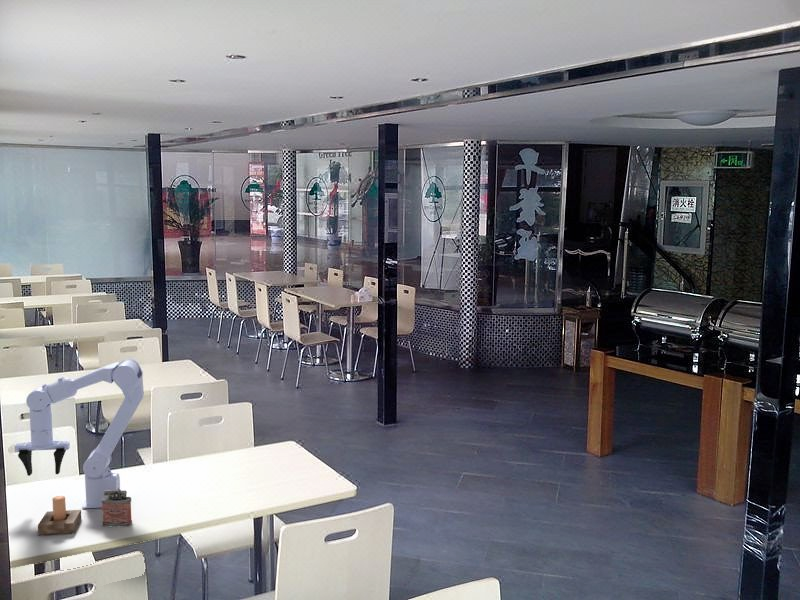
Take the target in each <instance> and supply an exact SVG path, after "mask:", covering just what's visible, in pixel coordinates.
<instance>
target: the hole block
mask: <svg viewBox="0 0 800 600" xmlns="http://www.w3.org/2000/svg"><path fill="white" fill-rule="evenodd" d="M81 522H82V509H70V510H69V509H68V510H67V509H66V520H60V521H54V519H53V510H51V511H46V512H45V514H44V515H43V517H42V518H41V520H40V522H39V523H38V524H37V536H38V537H42V536H41V535H44V536H57V535H73V534H72V533H75V532H76V530H77V529H76V528H78V527H79V525H80V523H81ZM77 526H78V527H77Z"/></svg>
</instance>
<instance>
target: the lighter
mask: <svg viewBox="0 0 800 600" xmlns="http://www.w3.org/2000/svg"><path fill="white" fill-rule="evenodd" d="M127 493H128V492H127V490H121V488H120V489H117V490H116V491H113V490H105V491H104V496H109V497H104V498H102V499H101V502H102V507H101V509H102V524H101V525H102V526H103V527H107V526H112V527H111V528H120V527H121V526H122V527H130V526H132V525H133V519H132V497H131V496H127ZM112 496H113V497H112ZM118 526H120V527H118ZM122 527H121V528H122Z"/></svg>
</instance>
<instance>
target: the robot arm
mask: <svg viewBox="0 0 800 600" xmlns="http://www.w3.org/2000/svg"><path fill="white" fill-rule="evenodd" d="M143 373H144V371H143V370H142V368H141V366H140V364H139V363H138V362H137V361H136V360H134V359H131V358H128V359H123V360H122V361H121V362H120V361H117V362H112V363H110V364H107V365H104V366H102V367H99V368H97V369H95V370H93V371H90V372H88V373H85V374H84V375H83V374H82V375H81V376H78V377H76V378H71V377H68V376H67V377H65V378H64V376H61V377H58V378H57V381H54V382H51V383H49V384H46V383H45V384H42V385H41V386H38V387H36V388H34V389H33V390H32V391H31V392H30V393H28V395H27V396H26V406H27V407H28V408H29V427H30V441H28V442H22V443H16V444H15V445H14V453H18V455H17V456H18V459H19V460H20V461H21V462H22V464H23V466H24V469H25V471H26V475H27V476H28V477H29V476H31V475H32V474H33V463H32V455H33V454H32V453H33V451H53V450H55V451H54V452H53V457H54V464H55V465H54V466H55V469H54V470H55V471H54V472H55V475H59V474H60V472H61V465H62V461H63V459H64V457H65V453H66V451H69V449H70V448H71V447H70V446H71V445H70V441H65V440H64V441H63V440H54V439H53V437H54V434H53V433H54V432H53V422H52V421H53V419H52V405H53V404H57V403H58V402H62V401H64V400H67V399H69V398H71V397H75V396H76V395H77V391H78V390H81V389H83V388H87V387H89V386H92V385H95V384H99V383H100V382H106V383H109V384H113V383H115V385H116V386H117V387H118V388H119V389H120V390H121V392H122V394H123V396H124V399H123V401H122V402H121V405H120V406H119V407H118V410H117V411H116V413H115V415H114V417H113V418H112V420H111V422H110V424H109V426H108V428H107V429H106V431H105V433H104V435H103V436H102V438H101V440H100V442H99V443H98V445H97V446H96V448H94V449H93V450H92V451H91V452H90V454H89V456H88V457H87V459H86V460H85V461H84V463H83V465H82V470H83V473H84V483H85V484H84V485H85V486H84V487H85V501H84V503H83V505H82V506H81V507H82V509H95V508H97V509H98V508H99V509H100V508H101V509H102V502H101V499H102V498H104V497H109V496H104V491H105V490H113V491H116V490H117V489H120V490H121V477H120V473H118V472H112V470H111V468H110V467H109V465H110V463H111V462H112V454H113V452H114V450H115V448H116V446H117V444H118V443H119V441H120V439H121V437H122V435H123V434H124V432H125V430H126V428H127V427H128V425H129V423H130V421H131V419H132V418H133V416H134V415H135V412H136V411H137V409H138V407H139V405H140V403H141V401H142V400H143V398H144V396H145V391H144V382H143V381H144V380H143V379H144V378H143V375H144V374H143ZM51 404H52V405H51ZM112 497H113V496H112Z"/></svg>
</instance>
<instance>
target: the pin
mask: <svg viewBox="0 0 800 600" xmlns="http://www.w3.org/2000/svg"><path fill="white" fill-rule="evenodd" d="M51 501H52V511H53V519H54V521H60V520H66V510H67V509H66V505H67V503H66V496H65V495H56V496H54V497H53V498H52V499H51Z"/></svg>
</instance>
